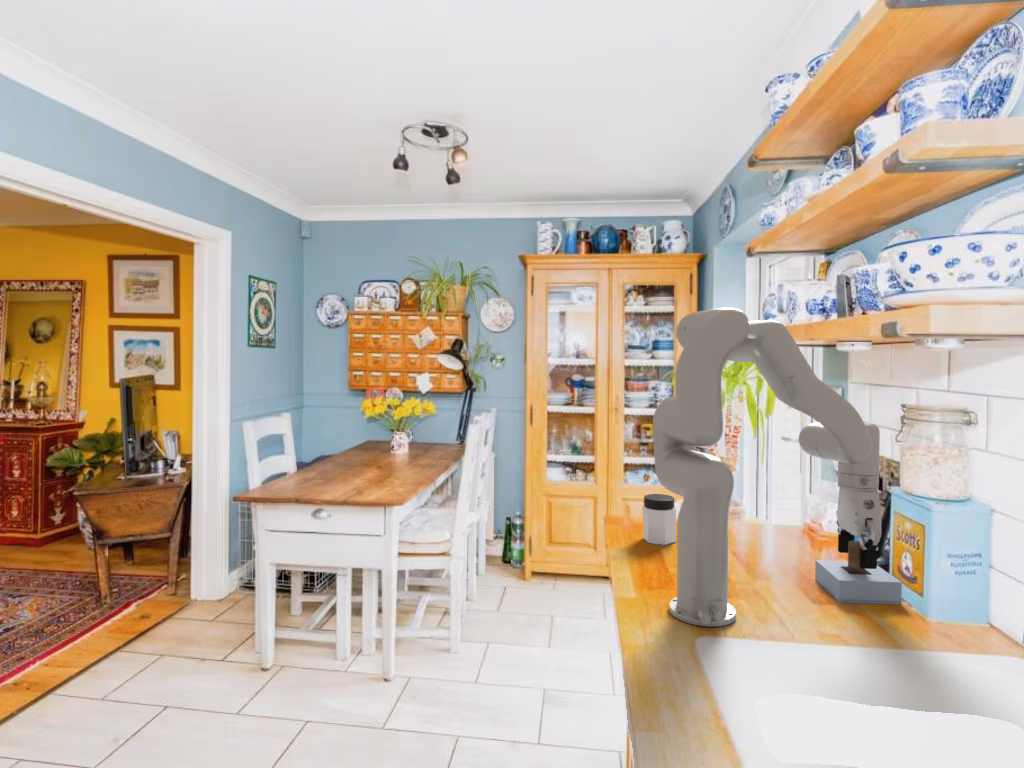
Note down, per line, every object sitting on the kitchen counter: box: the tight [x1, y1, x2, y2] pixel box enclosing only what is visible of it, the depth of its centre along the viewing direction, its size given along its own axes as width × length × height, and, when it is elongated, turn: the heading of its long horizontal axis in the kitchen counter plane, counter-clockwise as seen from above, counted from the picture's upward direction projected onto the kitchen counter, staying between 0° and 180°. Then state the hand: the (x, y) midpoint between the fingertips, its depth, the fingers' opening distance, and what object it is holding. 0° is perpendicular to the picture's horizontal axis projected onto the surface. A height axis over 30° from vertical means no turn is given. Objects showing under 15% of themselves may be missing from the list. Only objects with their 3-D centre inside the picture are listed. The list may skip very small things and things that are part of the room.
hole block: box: [814, 559, 903, 605], centre depth 125 cm, size 12×12×4 cm
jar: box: [642, 493, 677, 546], centre depth 160 cm, size 9×8×12 cm
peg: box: [847, 540, 864, 575], centre depth 125 cm, size 3×3×10 cm
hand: (856, 560), depth 124 cm, fingers open, 9 cm apart
